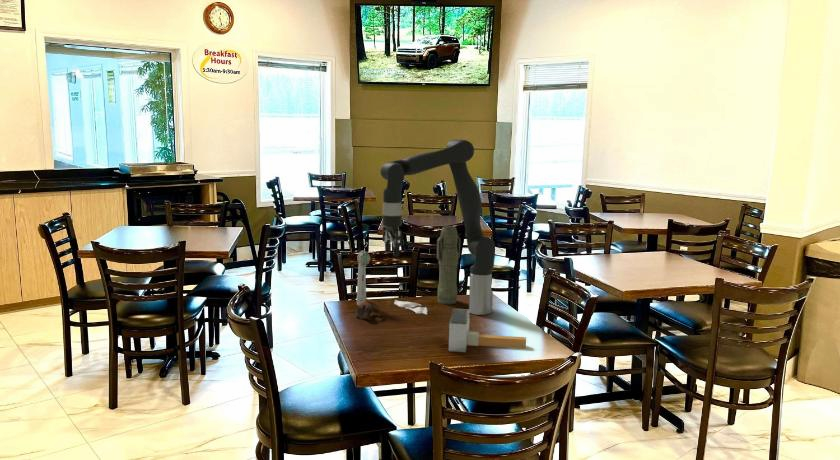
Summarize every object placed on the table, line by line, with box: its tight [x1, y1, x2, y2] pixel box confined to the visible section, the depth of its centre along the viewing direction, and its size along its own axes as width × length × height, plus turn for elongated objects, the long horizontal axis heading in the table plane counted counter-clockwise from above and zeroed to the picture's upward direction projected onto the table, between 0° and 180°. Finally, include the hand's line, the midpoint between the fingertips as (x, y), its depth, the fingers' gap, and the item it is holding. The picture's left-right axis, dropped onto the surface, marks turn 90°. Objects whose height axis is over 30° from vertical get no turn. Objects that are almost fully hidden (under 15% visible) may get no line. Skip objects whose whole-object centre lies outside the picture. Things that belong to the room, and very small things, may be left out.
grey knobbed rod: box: [356, 250, 371, 307], centre depth 276 cm, size 5×7×25 cm
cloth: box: [393, 299, 428, 315], centre depth 277 cm, size 26×14×2 cm, turn 24°
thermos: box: [436, 225, 461, 305], centre depth 285 cm, size 9×12×35 cm
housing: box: [448, 308, 471, 353], centre depth 229 cm, size 6×20×13 cm, turn 173°
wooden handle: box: [467, 330, 527, 349], centre depth 228 cm, size 23×4×4 cm, turn 82°
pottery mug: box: [355, 298, 381, 320], centre depth 260 cm, size 12×9×8 cm
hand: (392, 254), depth 249 cm, fingers open, 8 cm apart
